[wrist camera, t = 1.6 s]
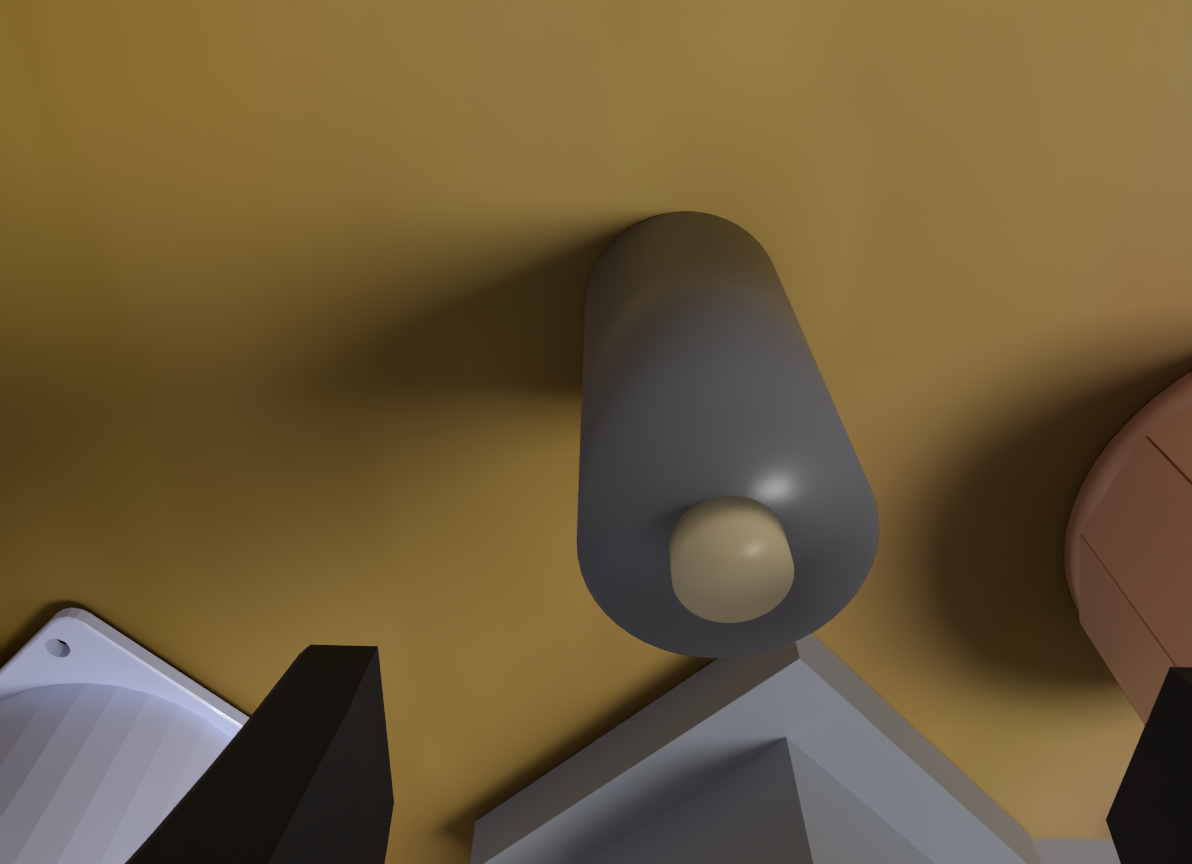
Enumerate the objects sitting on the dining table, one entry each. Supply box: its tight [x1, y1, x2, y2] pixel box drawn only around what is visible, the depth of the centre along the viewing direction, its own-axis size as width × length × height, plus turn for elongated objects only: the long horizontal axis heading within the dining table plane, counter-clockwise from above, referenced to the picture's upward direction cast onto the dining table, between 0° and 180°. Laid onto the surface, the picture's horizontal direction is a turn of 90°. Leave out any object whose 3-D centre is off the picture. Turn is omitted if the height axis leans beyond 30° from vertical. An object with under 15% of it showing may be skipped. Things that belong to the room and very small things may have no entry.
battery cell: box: [577, 212, 879, 658], centre depth 15 cm, size 4×4×8 cm
